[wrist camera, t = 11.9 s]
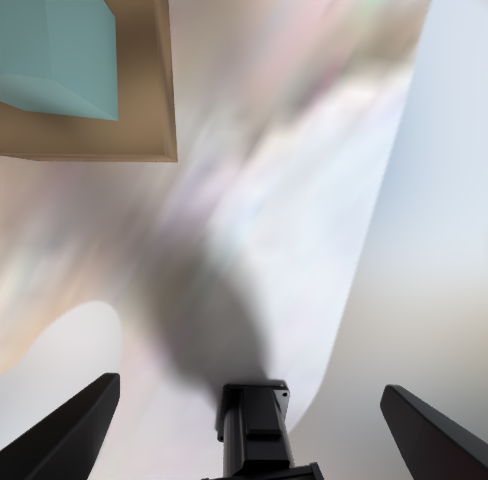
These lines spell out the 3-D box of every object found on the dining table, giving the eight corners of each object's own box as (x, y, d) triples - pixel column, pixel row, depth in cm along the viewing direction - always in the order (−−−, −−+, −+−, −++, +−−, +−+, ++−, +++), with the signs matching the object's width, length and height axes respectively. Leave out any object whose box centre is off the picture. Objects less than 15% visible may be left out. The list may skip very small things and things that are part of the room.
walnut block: (178, 163, 17) (164, 155, 14) (41, 161, 17) (-16, 152, 13) (169, 7, 15) (149, -56, 11) (11, -3, 14) (-69, -73, 11)
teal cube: (118, 120, 13) (52, 79, 8) (24, 110, 12) (-106, 60, 8) (115, 17, 12) (36, -102, 7) (12, 2, 11) (-149, -137, 7)
